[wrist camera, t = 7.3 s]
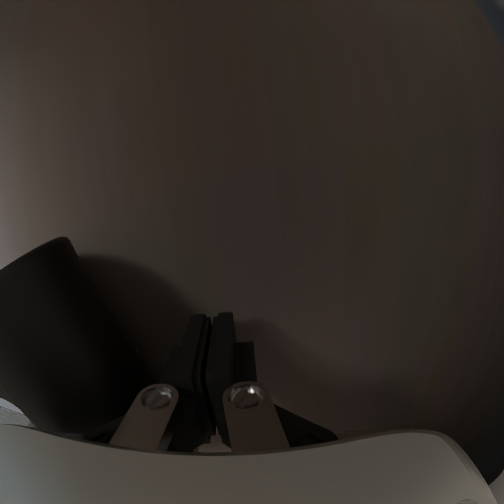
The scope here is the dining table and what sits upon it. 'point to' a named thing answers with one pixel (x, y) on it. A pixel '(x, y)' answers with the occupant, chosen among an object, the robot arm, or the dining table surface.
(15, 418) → the mounting bracket
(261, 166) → the dining table surface
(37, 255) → the end cap
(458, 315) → the dining table surface
